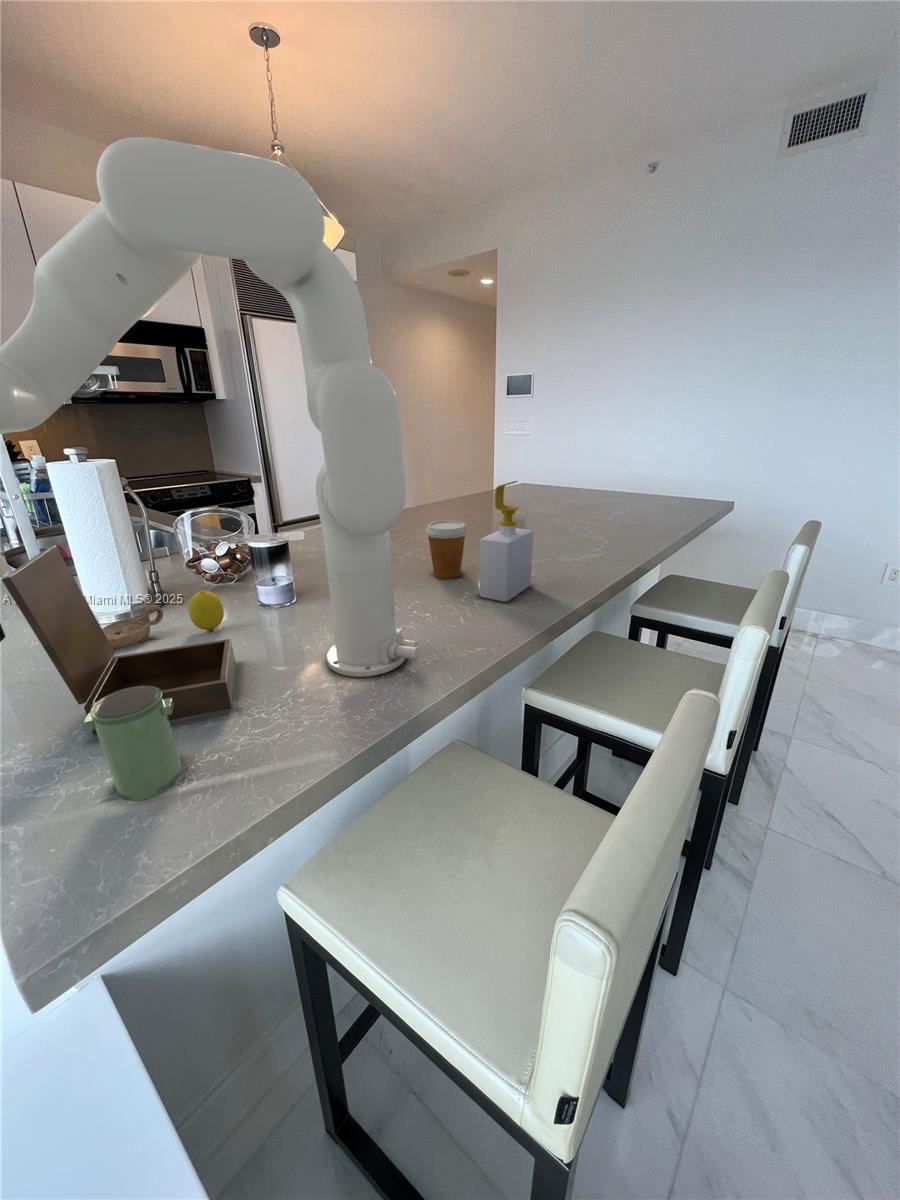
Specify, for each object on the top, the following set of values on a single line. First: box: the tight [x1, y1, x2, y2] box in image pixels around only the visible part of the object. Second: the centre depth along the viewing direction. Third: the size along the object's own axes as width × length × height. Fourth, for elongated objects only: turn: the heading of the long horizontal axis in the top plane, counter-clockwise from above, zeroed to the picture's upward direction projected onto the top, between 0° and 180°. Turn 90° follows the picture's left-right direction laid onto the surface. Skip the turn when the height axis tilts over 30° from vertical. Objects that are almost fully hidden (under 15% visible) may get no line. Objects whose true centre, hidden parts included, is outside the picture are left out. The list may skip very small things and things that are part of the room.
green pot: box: [83, 686, 182, 802], centre depth 51 cm, size 8×6×10 cm
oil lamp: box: [102, 604, 164, 651], centre depth 84 cm, size 13×8×5 cm, turn 151°
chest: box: [83, 638, 236, 736], centre depth 67 cm, size 16×14×5 cm
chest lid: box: [0, 545, 116, 706], centre depth 60 cm, size 16×14×1 cm
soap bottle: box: [479, 480, 534, 603], centre depth 101 cm, size 12×7×23 cm, turn 147°
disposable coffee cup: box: [425, 520, 468, 579], centre depth 114 cm, size 10×10×12 cm
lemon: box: [188, 589, 225, 633], centre depth 87 cm, size 6×6×8 cm
